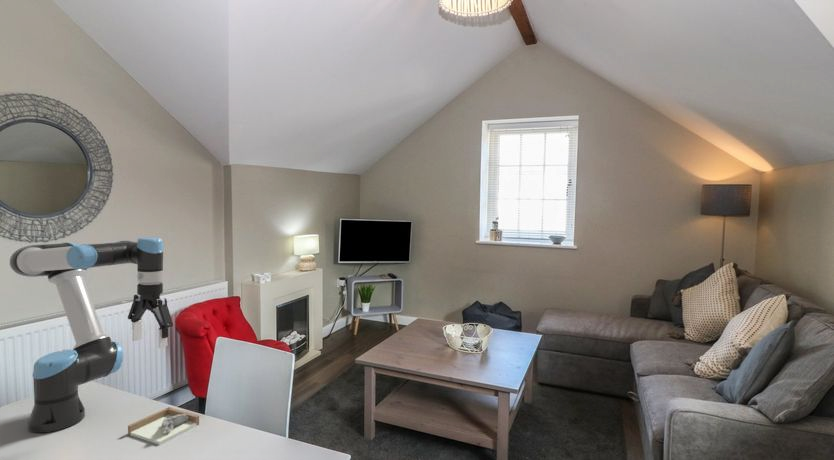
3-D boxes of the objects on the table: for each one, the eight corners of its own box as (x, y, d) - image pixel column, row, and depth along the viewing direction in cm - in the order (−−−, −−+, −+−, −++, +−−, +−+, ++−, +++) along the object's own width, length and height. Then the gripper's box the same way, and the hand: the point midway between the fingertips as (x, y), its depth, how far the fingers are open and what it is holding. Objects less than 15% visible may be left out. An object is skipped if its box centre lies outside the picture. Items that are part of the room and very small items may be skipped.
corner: (128, 434, 144) (127, 425, 144) (169, 415, 158) (168, 407, 157) (159, 445, 138) (159, 435, 138) (199, 424, 151) (199, 415, 151)
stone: (147, 433, 142) (147, 421, 142) (175, 417, 154) (175, 406, 154) (164, 436, 140) (164, 423, 140) (191, 419, 152) (191, 408, 152)
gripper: (116, 280, 151) (115, 340, 153) (164, 289, 141) (163, 353, 142) (137, 277, 158) (137, 334, 159) (185, 285, 148) (184, 346, 149)
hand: (149, 343), depth 151 cm, fingers open, 13 cm apart
